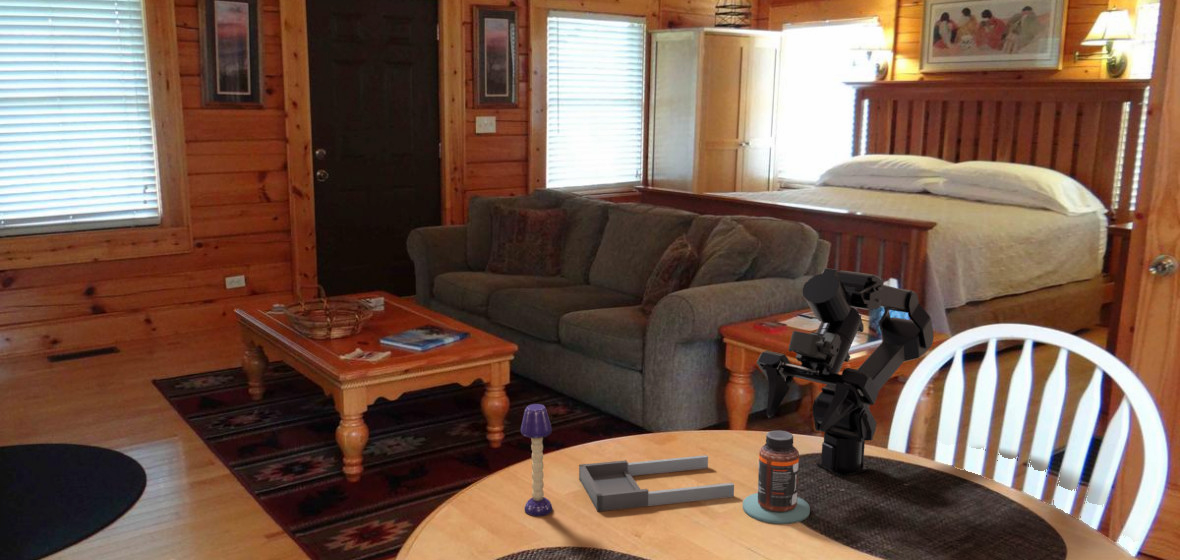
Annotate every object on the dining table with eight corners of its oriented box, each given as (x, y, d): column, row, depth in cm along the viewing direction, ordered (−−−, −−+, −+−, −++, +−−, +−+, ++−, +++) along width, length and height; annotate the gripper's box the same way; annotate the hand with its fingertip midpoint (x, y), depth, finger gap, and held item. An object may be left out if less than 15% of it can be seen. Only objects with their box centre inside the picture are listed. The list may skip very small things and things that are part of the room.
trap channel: (706, 466, 161) (706, 452, 160) (733, 496, 149) (734, 481, 149) (579, 479, 156) (579, 464, 155) (597, 511, 144) (597, 496, 144)
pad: (780, 490, 151) (780, 486, 151) (823, 514, 143) (823, 511, 143) (729, 503, 147) (729, 499, 147) (771, 529, 138) (771, 525, 138)
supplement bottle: (805, 509, 143) (808, 438, 141) (772, 516, 141) (775, 444, 138) (781, 494, 148) (784, 425, 146) (749, 500, 146) (752, 431, 144)
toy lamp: (555, 516, 143) (554, 410, 139) (524, 519, 142) (522, 412, 138) (549, 502, 147) (548, 399, 144) (519, 505, 146) (517, 402, 143)
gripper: (764, 301, 152) (723, 383, 146) (874, 320, 140) (833, 411, 134) (788, 339, 159) (750, 419, 154) (894, 360, 147) (856, 448, 141)
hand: (794, 423), depth 145 cm, fingers open, 9 cm apart
